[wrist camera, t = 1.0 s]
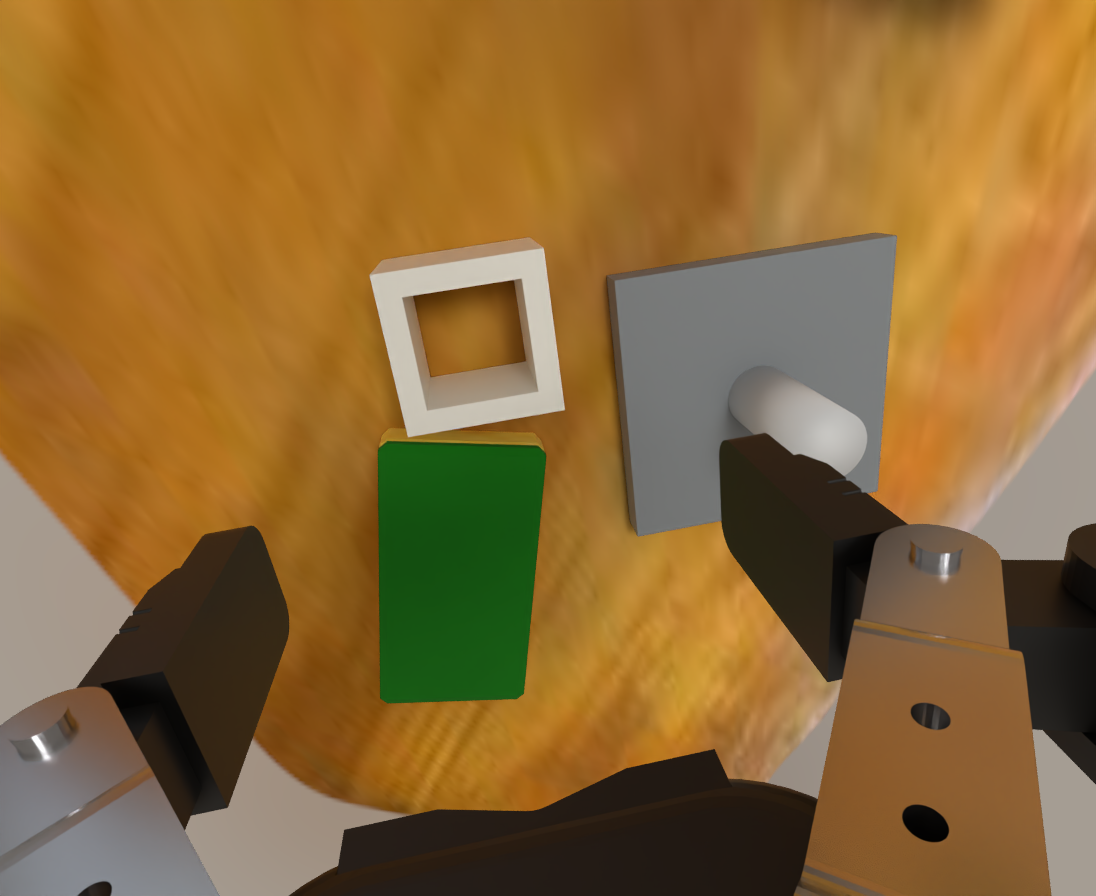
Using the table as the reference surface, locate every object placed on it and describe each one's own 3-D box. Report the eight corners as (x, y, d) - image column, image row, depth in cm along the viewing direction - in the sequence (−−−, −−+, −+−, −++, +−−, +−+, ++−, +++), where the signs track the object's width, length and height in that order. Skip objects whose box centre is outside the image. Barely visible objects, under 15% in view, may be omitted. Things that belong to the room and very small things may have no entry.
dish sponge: (384, 671, 34) (379, 705, 32) (383, 424, 29) (377, 444, 27) (518, 667, 36) (523, 700, 33) (540, 429, 30) (547, 449, 28)
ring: (382, 259, 26) (369, 275, 22) (529, 237, 27) (543, 248, 23) (414, 400, 29) (407, 437, 25) (549, 377, 29) (565, 409, 25)
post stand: (606, 275, 28) (657, 308, 21) (875, 232, 28) (1009, 250, 22) (630, 521, 32) (678, 613, 25) (859, 478, 33) (966, 556, 26)
